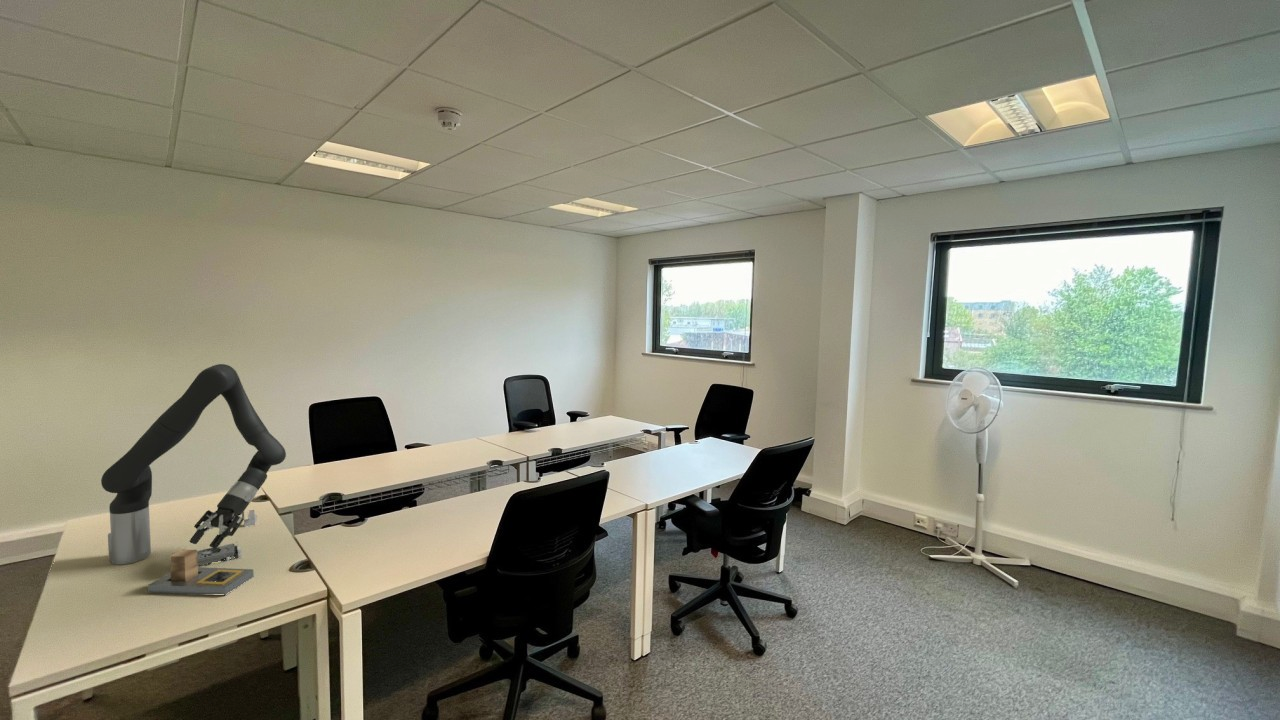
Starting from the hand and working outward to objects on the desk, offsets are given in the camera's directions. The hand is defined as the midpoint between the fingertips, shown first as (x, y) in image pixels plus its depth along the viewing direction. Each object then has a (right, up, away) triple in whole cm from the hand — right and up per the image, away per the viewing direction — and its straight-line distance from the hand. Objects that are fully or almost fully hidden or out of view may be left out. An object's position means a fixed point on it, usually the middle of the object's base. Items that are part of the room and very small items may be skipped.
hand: (202, 545), depth 159 cm
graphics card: (-8, -10, +12) cm, 17 cm away
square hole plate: (+4, -11, -4) cm, 12 cm away
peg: (-2, -10, -4) cm, 11 cm away
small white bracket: (-20, -7, +38) cm, 44 cm away
